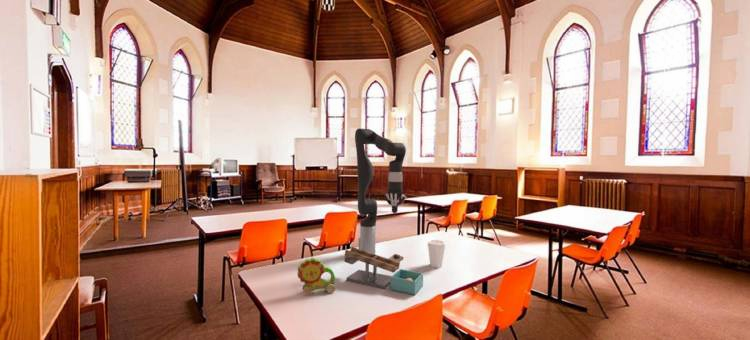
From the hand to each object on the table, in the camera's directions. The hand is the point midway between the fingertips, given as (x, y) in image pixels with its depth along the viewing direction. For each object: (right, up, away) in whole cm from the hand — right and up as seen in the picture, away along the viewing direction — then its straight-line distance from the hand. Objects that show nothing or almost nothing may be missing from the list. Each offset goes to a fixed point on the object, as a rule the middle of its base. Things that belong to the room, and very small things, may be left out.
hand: (394, 212), depth 172 cm
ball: (+5, -28, -27) cm, 39 cm away
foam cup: (+23, -29, +4) cm, 37 cm away
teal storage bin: (+4, -31, -26) cm, 40 cm away
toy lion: (-36, -30, -32) cm, 57 cm away
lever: (-10, -24, -13) cm, 29 cm away
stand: (-12, -30, -18) cm, 37 cm away
